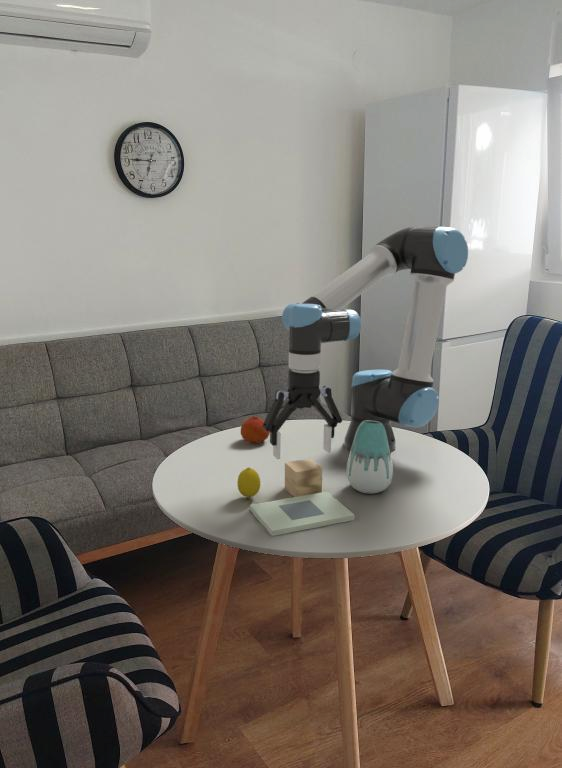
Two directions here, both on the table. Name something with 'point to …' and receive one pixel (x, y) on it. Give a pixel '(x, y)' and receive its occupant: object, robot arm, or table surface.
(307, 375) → the robot arm
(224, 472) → the table surface
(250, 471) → the lemon
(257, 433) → the fruit
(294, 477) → the oak cube
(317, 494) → the board
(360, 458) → the vase
